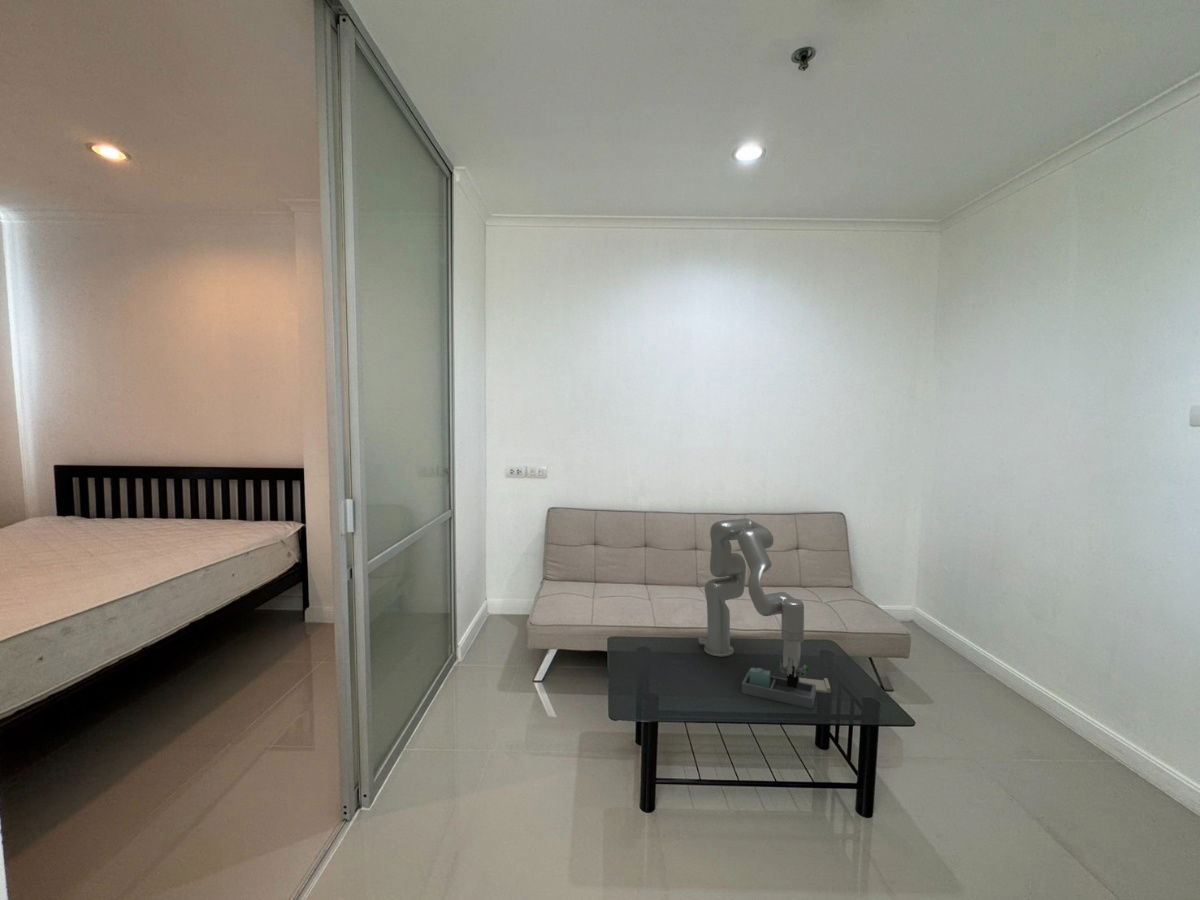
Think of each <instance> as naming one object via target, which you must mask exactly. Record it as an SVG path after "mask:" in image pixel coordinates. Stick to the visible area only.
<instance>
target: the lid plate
mask: <svg viewBox="0 0 1200 900" xmlns="http://www.w3.org/2000/svg"><path fill="white" fill-rule="evenodd" d="M798 681H799V682H804V683H809V684H814V685H816V692H817V693H823V694H832V690H831V685H830V681H829V680H828V678H827V677H824V678H823V679H813V678H806V677H805V678H803V677H798Z"/></svg>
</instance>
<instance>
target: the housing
mask: <svg viewBox="0 0 1200 900" xmlns="http://www.w3.org/2000/svg"><path fill="white" fill-rule="evenodd" d="M771 672H772V671H771V670H766V669H764V668H761V667H750V669H749V670H748V671H747V673H746V674H745V676H744V678H743V680H742V682H741V694H744V695H747V696H748V695H749V696H753V697H757V698H763V699H765V700H769V701H770V700H772V701H775V702H780V703H785V704H789V705H793V706H798V707H802V708H807V709H811V710H812V709H814V706H815V705H814V704H815V699H816V695H817V693H816V685H814V684H809V683H804V682H799V680H798V684H797V688H795V691H791V687H788V686H787V678H785V677H779V676H773V675H771V674H772V673H771Z"/></svg>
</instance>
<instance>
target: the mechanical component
mask: <svg viewBox="0 0 1200 900" xmlns="http://www.w3.org/2000/svg"><path fill="white" fill-rule="evenodd" d="M777 666H779V669H780V670H779V671H780V672H781V673H783V674H786V675H787V672H788V665H787V667H786V668H784V667H783V658H780V660H777ZM794 668H795V667H794ZM793 671H794V670H793ZM797 671H798V672H797ZM807 672H809V665H807V664H804V665H803V666H802V667H800V666H798V669H797V670H796V676H798V677H800V678H803V677H805V676H806V673H807ZM791 691H795V688H793V687H791Z"/></svg>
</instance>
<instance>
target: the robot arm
mask: <svg viewBox="0 0 1200 900" xmlns="http://www.w3.org/2000/svg"><path fill="white" fill-rule="evenodd" d="M709 533H710V535H709V536H710V542H711V546H710V559H709V571H710V574H711V575H712V576H713V577H715V578H713V579H710V580H708V581H706V583H705V584H704V585H705V586H704V594H705V599H706V611H707V612H706V615H707V616H706V619H707V624H706V625H707V626H706V627H707V637H706V638H704V637H701V636H699V637H698V639H697V640H698V643H699V644H700V645H704V647H703V650H704V652H705V653H707V654H708V655H710V656H713V657H719V658H720V657H721V658H722V657H730V656H731V655H733V654H734V647H733V646H731V630H730V629H731V628H730V627H731V622H730V621H731V620H730V619H731V618H730V617H731V615H730V609H729V607H728V605H727V604H726V601H730V600H734V599H738V598H740V597H742V596H743V594H744V591H745V586H746V585H745V583H746V574H747V573H746V572H747V566H748V568H749V570H750V573H749V577H748V581H747V582H748V585H747V586H748V587H747V588H748V594H749V596H750V597H749V598H750V599H751V602H752V604H753V606H754V608H755V610H756V612H758V614H759V615H761V616H763V617H771V616H775V615H781V639H782V640H783V651H782V659H783V667H784V668H786V667H788V672H787V674H786V679H787V686H788V687H793V688H797V684H798V681H799V676H796V670H797V669H798V666H799V665H800V662H801V646H802V645H801V644H802V642H804V640H805V605H804V602H803V601H802V600H800V599H798V598H794V597H793V596H791V595H790V594H789V593H787V592H784V591H778V592H772V593H768V594H767V593H766V594H765V592H764V590H763V587H762V582H761V580H762V577H763V574H764V573H765V572H767V571H768V570H770V569H771V567H772V565H773V563H772V560H771V559H770V557H769V554H768V552H767V551H766V549H770V548H771V547H773V545H774V536H773V534H772V532H771V531H770V529H768V528H767V527H765V526H764V525H762V524H760V523H758V522H757V521H754V520H752V519H749V518H736V519H725V520H720V521H719V520H718V521H716V522H714V523H713V524H712V525H711V526H710V532H709ZM730 541H737V542H738V545H739V547H740V550H741V552H742V554H743V556H742V554H740V553H738V552H732V543H731V542H730ZM746 565H747V566H746ZM787 665H788V666H787ZM794 667H795V668H794ZM799 667H800V666H799ZM793 670H794V671H793ZM797 672H799V671H797Z"/></svg>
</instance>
